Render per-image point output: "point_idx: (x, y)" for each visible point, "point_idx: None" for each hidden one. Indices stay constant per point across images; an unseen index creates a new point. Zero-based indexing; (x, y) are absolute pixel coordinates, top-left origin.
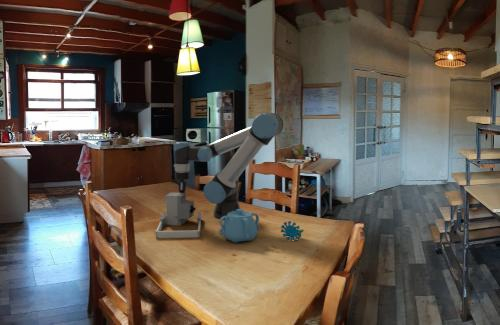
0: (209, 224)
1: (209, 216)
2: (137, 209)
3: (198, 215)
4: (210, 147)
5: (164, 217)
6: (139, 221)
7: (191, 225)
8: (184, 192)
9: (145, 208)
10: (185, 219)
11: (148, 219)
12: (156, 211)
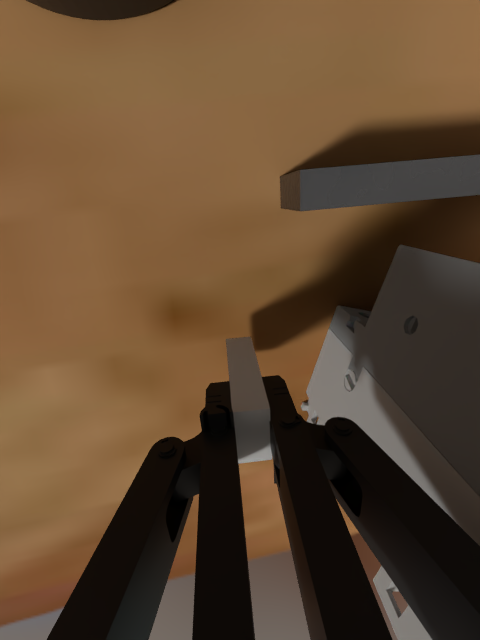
0: (466, 62)
1: (155, 84)
2: (53, 611)
3: (453, 186)
4: None
5: None
6: None
7: (453, 244)
8: (353, 609)
9: (16, 590)
10: (357, 313)
11: (268, 518)
12: (73, 529)
